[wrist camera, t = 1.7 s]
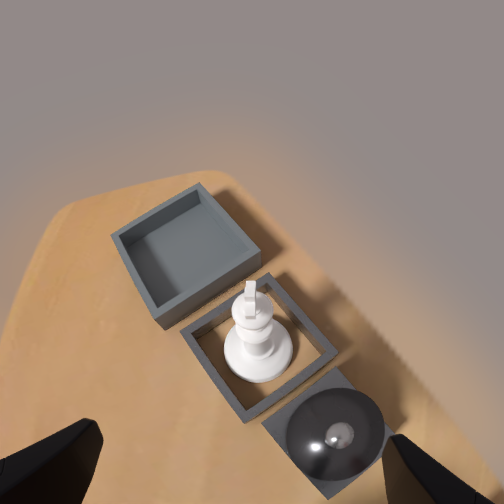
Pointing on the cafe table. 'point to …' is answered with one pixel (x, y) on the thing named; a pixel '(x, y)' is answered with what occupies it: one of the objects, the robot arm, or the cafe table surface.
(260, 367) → the chess piece
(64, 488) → the robot arm
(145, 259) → the tray
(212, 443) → the cafe table surface
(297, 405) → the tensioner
